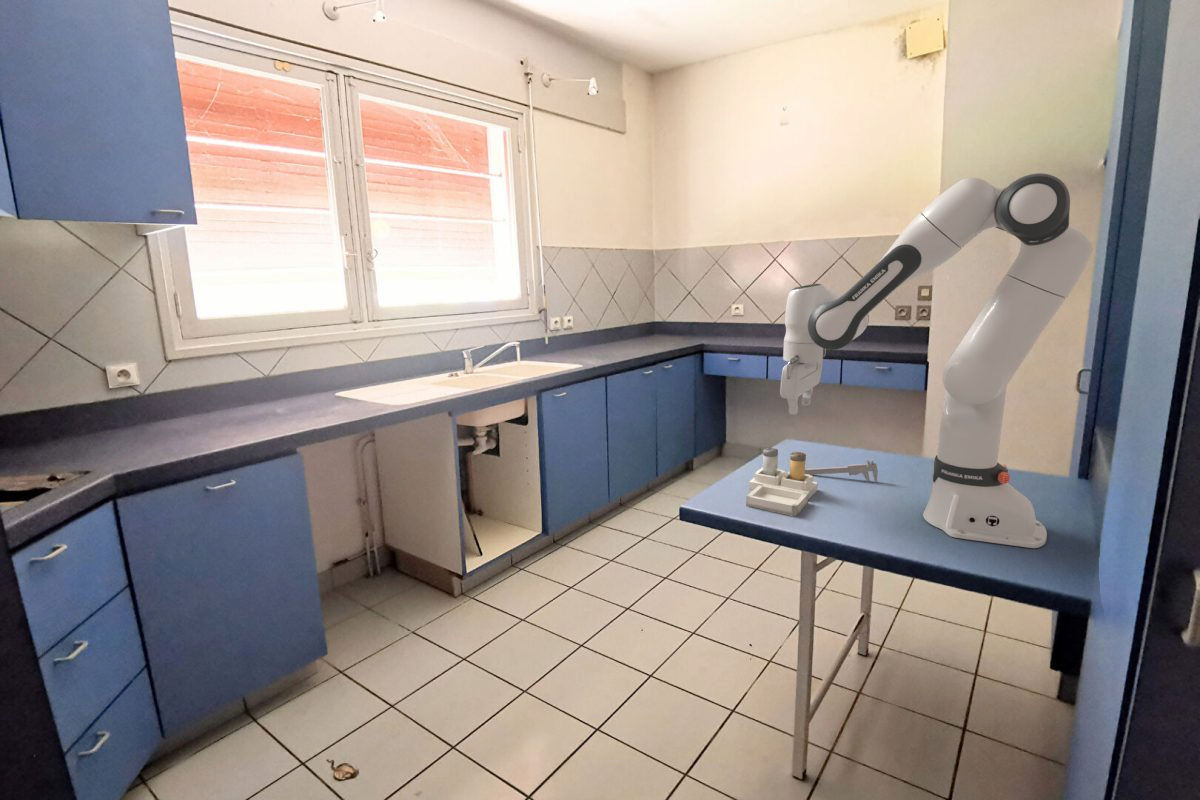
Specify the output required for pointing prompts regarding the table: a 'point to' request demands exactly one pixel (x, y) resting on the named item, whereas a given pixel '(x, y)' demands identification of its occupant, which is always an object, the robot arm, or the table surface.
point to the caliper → (848, 470)
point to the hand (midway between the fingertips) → (799, 409)
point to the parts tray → (777, 500)
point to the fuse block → (780, 476)
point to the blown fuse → (797, 466)
